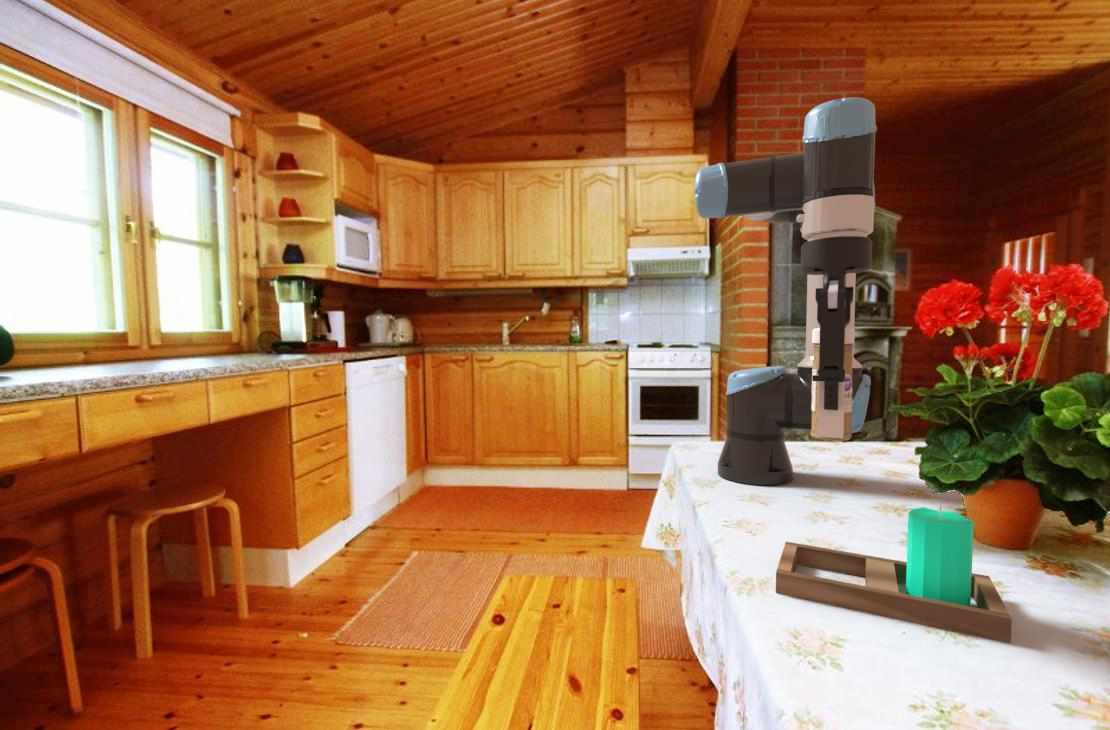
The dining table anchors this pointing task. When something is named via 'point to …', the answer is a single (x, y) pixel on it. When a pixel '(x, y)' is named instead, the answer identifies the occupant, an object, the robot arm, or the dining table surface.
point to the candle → (939, 555)
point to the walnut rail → (889, 592)
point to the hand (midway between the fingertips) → (831, 432)
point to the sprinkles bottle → (848, 381)
